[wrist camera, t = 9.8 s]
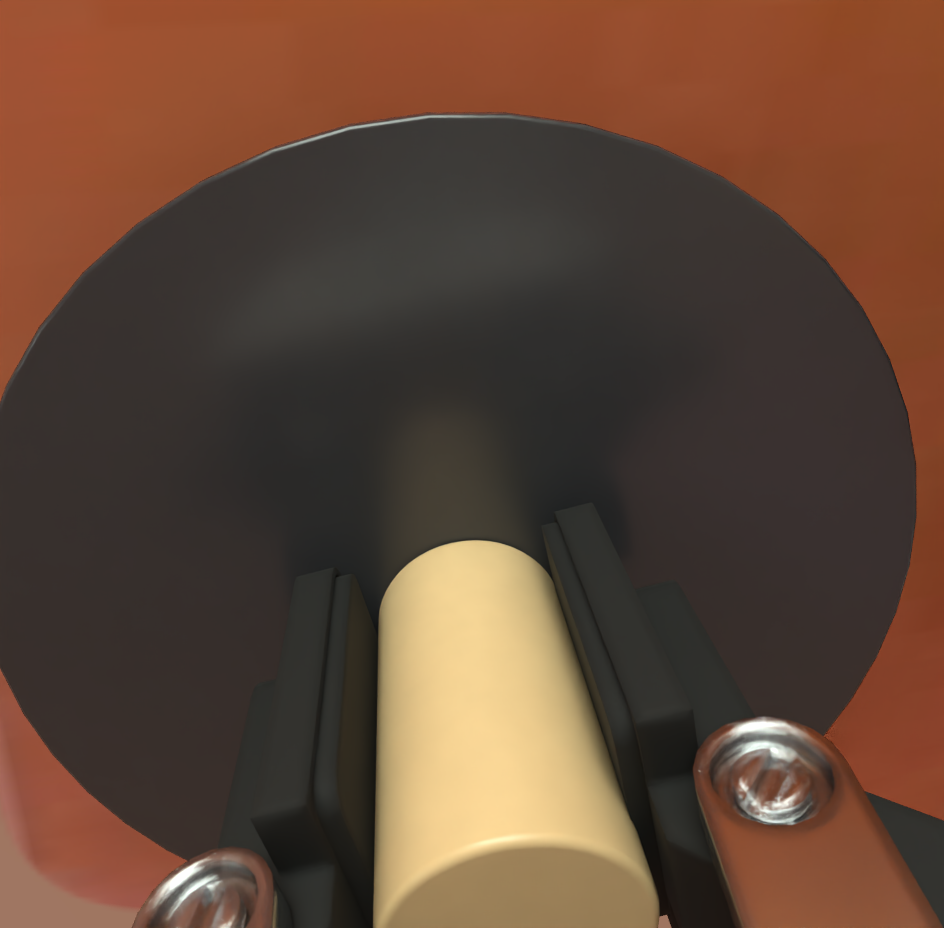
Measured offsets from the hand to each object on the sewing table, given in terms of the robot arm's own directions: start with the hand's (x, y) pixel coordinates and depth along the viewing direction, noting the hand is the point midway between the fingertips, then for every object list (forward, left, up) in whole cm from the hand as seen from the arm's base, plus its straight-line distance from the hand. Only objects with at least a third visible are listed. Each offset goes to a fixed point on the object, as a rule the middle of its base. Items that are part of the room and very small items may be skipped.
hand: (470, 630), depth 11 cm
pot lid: (0, 0, -1) cm, 1 cm away
